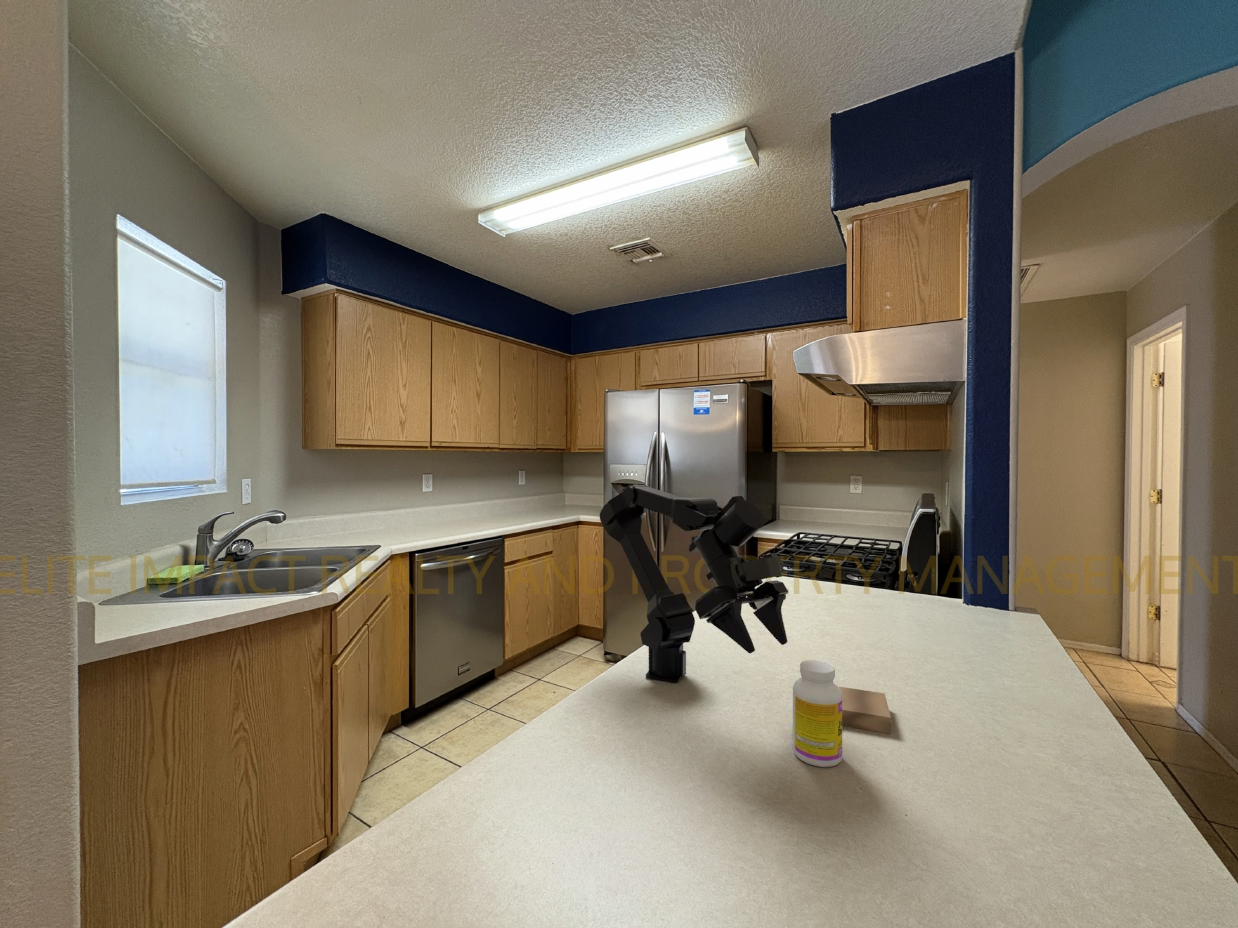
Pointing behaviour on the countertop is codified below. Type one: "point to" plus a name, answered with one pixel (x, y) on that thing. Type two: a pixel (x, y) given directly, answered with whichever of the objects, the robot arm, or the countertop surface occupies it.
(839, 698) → the supplement bottle
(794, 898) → the countertop surface
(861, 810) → the countertop surface
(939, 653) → the countertop surface
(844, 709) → the walnut block
